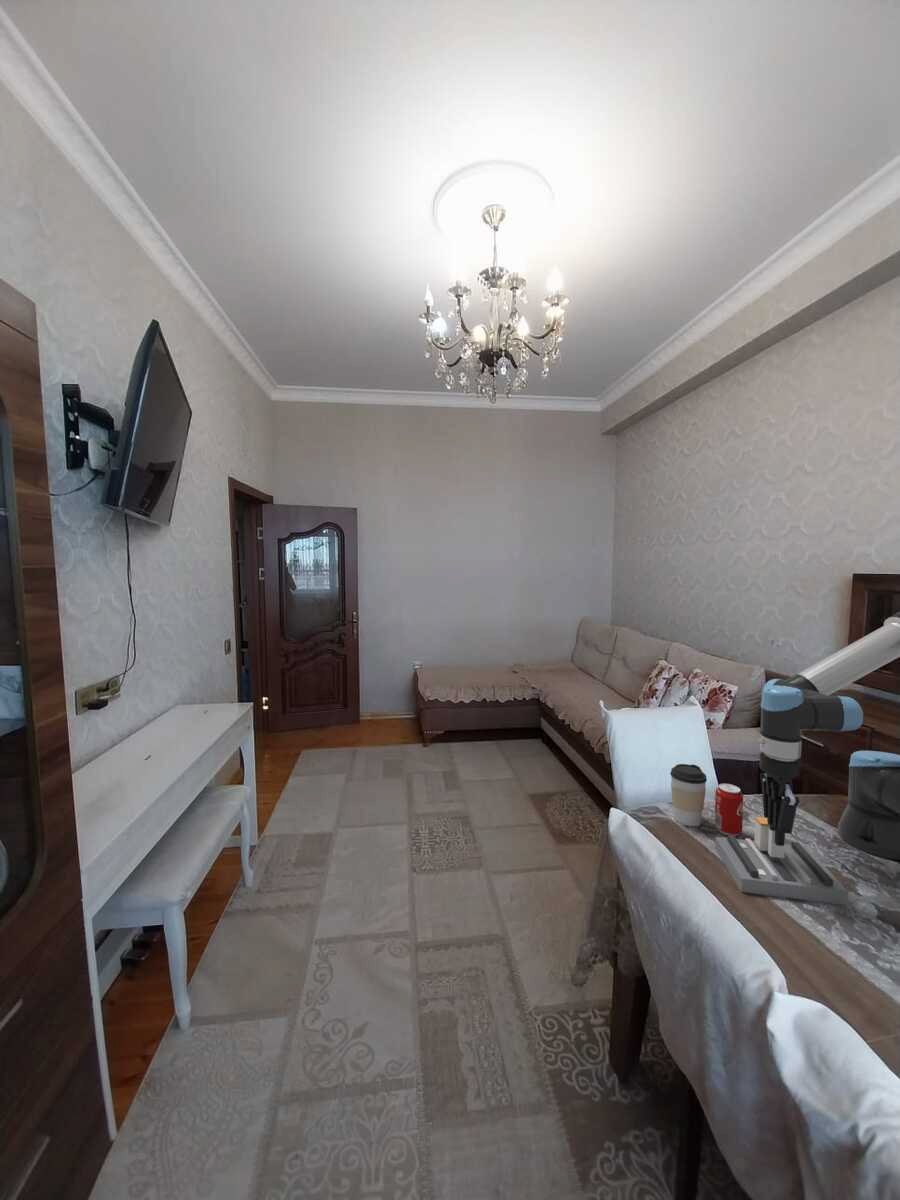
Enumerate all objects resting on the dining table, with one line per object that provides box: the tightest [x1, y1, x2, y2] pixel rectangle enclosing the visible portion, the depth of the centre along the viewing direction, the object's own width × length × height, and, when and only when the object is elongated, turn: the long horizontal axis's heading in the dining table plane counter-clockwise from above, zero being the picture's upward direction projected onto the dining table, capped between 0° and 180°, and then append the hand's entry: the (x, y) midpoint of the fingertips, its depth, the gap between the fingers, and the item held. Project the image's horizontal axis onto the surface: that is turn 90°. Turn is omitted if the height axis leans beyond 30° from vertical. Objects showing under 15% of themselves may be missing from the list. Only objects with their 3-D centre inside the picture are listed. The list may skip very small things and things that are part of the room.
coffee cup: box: [669, 763, 708, 827], centre depth 129 cm, size 9×9×15 cm
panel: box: [714, 836, 849, 906], centre depth 106 cm, size 20×16×4 cm
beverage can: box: [714, 783, 744, 837], centre depth 123 cm, size 6×6×12 cm
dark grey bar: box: [790, 841, 833, 887], centre depth 104 cm, size 2×14×4 cm, turn 168°
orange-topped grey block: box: [754, 816, 770, 851], centre depth 110 cm, size 4×3×7 cm
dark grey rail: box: [726, 835, 759, 878], centre depth 107 cm, size 2×14×4 cm, turn 168°
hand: (776, 855), depth 106 cm, fingers closed
